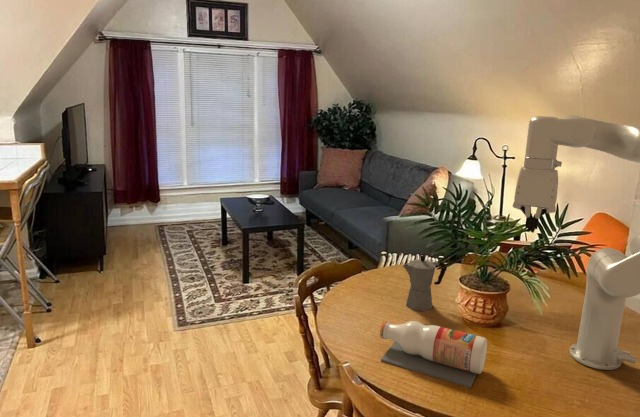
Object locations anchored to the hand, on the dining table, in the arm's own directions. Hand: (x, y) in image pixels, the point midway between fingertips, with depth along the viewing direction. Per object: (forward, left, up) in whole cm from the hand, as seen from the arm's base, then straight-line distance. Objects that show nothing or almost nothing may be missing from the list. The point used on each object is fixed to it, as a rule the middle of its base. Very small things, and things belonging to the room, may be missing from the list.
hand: (530, 230), depth 132 cm
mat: (+19, +19, -35) cm, 44 cm away
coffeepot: (+32, -13, -35) cm, 49 cm away
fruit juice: (+6, +20, -30) cm, 36 cm away
